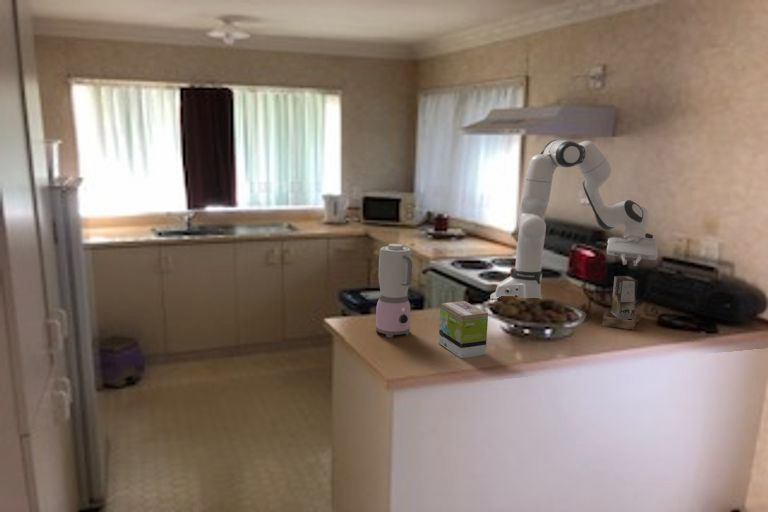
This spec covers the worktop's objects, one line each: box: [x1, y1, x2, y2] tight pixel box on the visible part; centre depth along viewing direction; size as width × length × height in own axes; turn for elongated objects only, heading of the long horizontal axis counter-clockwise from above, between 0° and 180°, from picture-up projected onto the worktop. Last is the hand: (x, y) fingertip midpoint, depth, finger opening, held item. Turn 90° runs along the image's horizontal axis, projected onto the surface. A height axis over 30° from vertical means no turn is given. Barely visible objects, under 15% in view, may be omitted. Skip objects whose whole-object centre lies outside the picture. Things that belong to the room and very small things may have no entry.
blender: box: [375, 243, 413, 339], centre depth 209 cm, size 16×12×32 cm
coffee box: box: [610, 275, 639, 320], centre depth 241 cm, size 9×6×16 cm
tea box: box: [438, 300, 489, 359], centre depth 197 cm, size 15×10×15 cm
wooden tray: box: [601, 308, 641, 331], centre depth 232 cm, size 14×13×4 cm
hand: (629, 264), depth 251 cm, fingers open, 3 cm apart
